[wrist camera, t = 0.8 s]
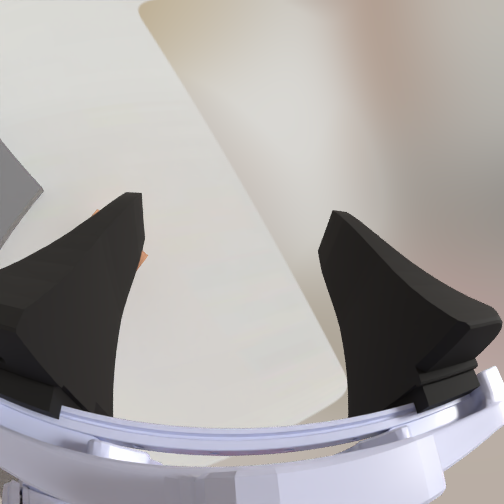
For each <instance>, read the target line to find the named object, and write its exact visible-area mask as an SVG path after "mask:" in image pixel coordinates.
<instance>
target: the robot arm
mask: <svg viewBox="0 0 504 504" xmlns="http://www.w3.org/2000/svg"><path fill="white" fill-rule="evenodd" d="M144 240H145V233H144V221H143V207H142V193H130V192H126V193H124V194H123V195H121V196H119V197H118V198H116V199H115V200H114V201H112V202H111V203H109V204H108V205H107V206H105V207H104V208H103V209H101V210H100V211H98V212H97V213H96V214H94V215H93V216H92V217H90V218H89V219H87V220H86V221H84V222H83V223H82V224H80V225H79V226H77V227H76V228H75V229H73V230H72V231H70V232H69V233H67V234H66V235H64V236H63V237H61V238H59V239H58V240H56V241H54V242H53V243H51V244H50V245H48V246H46V247H44V248H42V249H41V250H39V251H37V252H35V253H33V254H31V255H29V256H28V257H26V258H24V259H22V260H20V261H18V262H16V263H14V264H12V265H9V266H7V267H5V268H3V269H0V468H1V469H3V470H4V471H6V472H8V473H9V474H11V475H13V476H14V477H16V478H18V482H16V481H15V480H11V481H10V482H8V483H5V484H4V485H3V492H2V504H428V503H430V502H431V501H433V500H435V499H436V498H438V497H439V496H440V495H442V493H443V492H444V490H445V489H446V483H445V478H444V473H443V472H444V471H445V470H447V469H448V468H450V467H451V466H452V465H454V464H455V463H457V462H458V461H460V460H461V459H462V458H464V457H465V456H466V455H468V454H469V453H470V452H471V451H473V450H474V449H475V448H476V447H478V446H479V445H480V444H481V443H483V442H484V441H485V440H486V439H487V438H489V437H490V436H491V435H492V434H493V433H494V432H496V431H497V430H498V429H499V428H500V427H502V426H503V425H504V383H503V381H502V378H501V376H500V374H499V371H498V369H497V367H496V366H493V367H491V368H489V369H486V370H484V371H482V372H480V373H479V374H477V375H476V374H475V371H474V369H475V368H476V367H477V366H478V364H477V361H476V359H475V358H476V357H477V356H478V355H479V354H480V353H481V352H482V351H483V350H484V349H485V348H486V347H487V346H488V345H489V344H490V343H491V342H492V341H493V340H494V339H495V337H496V336H497V335H498V333H499V332H500V330H501V328H502V320H501V318H500V317H499V315H498V313H497V312H496V311H495V310H494V308H492V307H490V306H488V305H486V304H484V303H482V302H479V301H477V300H475V299H472V298H470V297H468V296H466V295H464V294H462V293H460V292H458V291H456V290H455V289H453V288H451V287H449V286H447V285H446V284H444V283H442V282H441V281H439V280H438V279H436V278H434V277H433V276H431V275H430V274H428V273H426V272H425V271H424V270H422V269H421V268H419V267H418V266H416V265H415V264H413V263H412V262H411V261H409V260H408V259H407V258H405V257H404V256H403V255H401V254H400V253H399V252H398V251H396V250H395V249H394V248H392V247H391V246H390V245H389V244H388V243H386V242H385V241H384V240H383V239H381V238H380V237H379V236H378V235H377V234H375V233H374V232H373V231H372V230H370V229H369V228H368V227H367V226H365V225H364V224H363V223H362V222H360V221H359V220H358V219H356V218H355V217H353V216H352V215H350V214H349V213H347V212H342V211H334V210H333V211H332V214H331V216H330V219H329V222H328V225H327V228H326V230H325V233H324V236H323V239H322V241H321V244H320V247H319V250H318V254H319V260H320V264H321V270H322V274H323V277H324V280H325V283H326V286H327V289H328V292H329V295H330V297H331V300H332V303H333V306H334V310H335V312H336V316H337V319H338V323H339V326H340V331H341V336H342V342H343V348H344V355H345V362H346V370H347V383H348V418H345V419H339V420H334V421H326V422H319V423H312V424H303V425H293V426H281V427H265V428H198V427H182V426H170V425H161V424H152V423H144V422H137V421H131V420H125V419H119V418H114V417H113V383H114V369H115V358H116V350H117V342H118V335H119V329H120V324H121V318H122V314H123V310H124V307H125V303H126V300H127V297H128V294H129V291H130V288H131V285H132V282H133V279H134V276H135V274H136V271H137V268H138V265H139V262H140V258H141V254H142V250H143V245H144ZM370 437H371V438H370ZM367 438H369V439H367ZM362 439H366V440H363V441H360V442H358V443H357V444H356V445H355V446H353V447H351V448H349V449H347V450H345V451H342V452H340V453H337V454H334V455H332V456H326V457H320V458H314V459H308V460H301V461H293V462H284V463H276V464H265V465H251V466H233V467H185V466H166V465H163V464H162V463H160V462H157V461H155V460H152V459H150V455H149V454H148V453H147V452H143V451H138V450H134V449H130V448H135V449H142V450H149V451H157V452H165V453H176V454H189V455H212V456H239V455H263V454H275V453H287V452H295V451H304V450H310V449H317V448H323V447H329V446H334V445H339V444H345V443H349V442H354V441H358V440H362ZM122 446H124V447H122ZM126 447H129V448H126Z"/></svg>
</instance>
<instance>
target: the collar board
mask: <svg viewBox="0 0 504 504" xmlns="http://www.w3.org/2000/svg"><path fill="white" fill-rule="evenodd" d="M43 191H44V190H43V189H42V187H41V186H40V185H39V184H38V182H37V181H36V180H35V179H34V178H33V177H32V176H31V175H30V174H29V173H28V171H27V170H26V169H25V168H24V167H23V166H22V165H21V163H20V162H19V161H18V160H17V159H16V158H15V156H14V155H13V154H12V153H11V152H10V150H9V149H8V148H7V147H6V146H5V144H4V143H3V142H2V141H1V139H0V249H1V248H2V246H3V245H4V243H5V242H6V240H7V239H8V237H9V236H10V234H11V233H12V231H13V230H14V229H15V227H16V226H17V224H18V223H19V222H20V220H21V219H22V218H23V216H24V215H25V214H26V212H27V211H28V210H29V209H30V207H31V206H32V205H33V203H34V202H35V201H36V200H37V199H38V197H39V196H40V195H41V194H42V193H43Z"/></svg>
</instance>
